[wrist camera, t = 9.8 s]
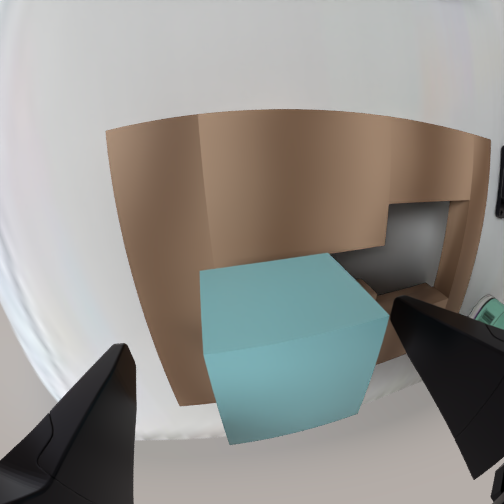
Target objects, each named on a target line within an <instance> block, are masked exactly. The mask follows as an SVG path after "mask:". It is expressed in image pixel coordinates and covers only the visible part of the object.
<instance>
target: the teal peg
mask: <svg viewBox="0 0 504 504" xmlns="http://www.w3.org/2000/svg"><path fill="white" fill-rule="evenodd" d="M200 300H201V322H202V340H203V355H204V359H205V363H206V367H207V370H208V374H209V378H210V382H211V385H212V389H213V392H214V396H215V399H216V403H217V406H218V409H219V413H220V416H221V419H222V423H223V426H224V429H225V432H226V435H227V438H228V441H229V444H230V445H233V444H240V443H246V442H252V441H258V440H264V439H269V438H274V437H279V436H283V435H287V434H291V433H296V432H300V431H304V430H307V429H311V428H315V427H318V426H322V425H325V424H328V423H331V422H335V421H338V420H340V419H343V418H347V417H350V416H352V415H355V414H358V411H359V409H360V406H361V404H362V401H363V398H364V396H365V393H366V390H367V388H368V385H369V382H370V379H371V376H372V374H373V371H374V368H375V365H376V361H377V358H378V355H379V352H380V349H381V345H382V342H383V338H384V335H385V331H386V327H387V324H388V320H389V316H390V315H389V314H388V313H387V312H386V311H385V310H384V309H383V308H382V307H381V306H380V305H379V304H378V303H377V302H376V301H375V300H374V299H373V298H372V296H371V295H370V294H369V293H368V292H367V291H366V290H365V289H364V288H363V287H362V286H361V285H360V284H359V283H358V282H357V281H356V280H355V279H354V278H353V277H352V276H351V275H350V274H349V273H348V272H347V271H346V270H345V269H344V268H343V267H342V266H341V265H340V264H339V263H338V262H337V261H336V260H335V259H334V258H333V257H332V256H331V255H330V254H329V253H322V254H315V255H309V256H302V257H295V258H288V259H281V260H274V261H267V262H260V263H253V264H246V265H239V266H232V267H224V268H217V269H210V270H202V271H200Z"/></svg>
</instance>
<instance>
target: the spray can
mask: <svg viewBox="0 0 504 504" xmlns="http://www.w3.org/2000/svg"><path fill="white" fill-rule="evenodd" d="M469 318H472V319H475V320H478V321H481V322H483V323H485V324H489V325H492V326H495V327H498V328H500V329H503V330H504V305H503V304H502V303H500V302H499V301H498V300H497V299H495V298H494V297H493V296H491V295H486V296H485V297H483V298H482V299H481V300H480V301H479V302H478V303H477V305H476V306H475V307H474V309H473V310H472V312H471V313H470V315H469Z"/></svg>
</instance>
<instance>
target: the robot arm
mask: <svg viewBox="0 0 504 504" xmlns="http://www.w3.org/2000/svg"><path fill="white" fill-rule="evenodd" d="M496 216H497V217H499V218H504V146H503V147H502V159H501V175H500V185H499V194H498V202H497V209H496ZM390 321H391V323H392V325H393V327H394V329H395V331H396V333H397V335H398V337H399V339H400V341H401V343H402V345H403V347H404V349H405V351H406V353H407V355H408V357H409V359H410V360H411V362H412V363H413V365H414V367H415V368H416V370H417V372H418V373H419V375H420V377H421V378H422V380H423V382H424V383H425V385H426V387H427V389H428V391H429V392H430V394H431V396H432V398H433V399H434V401H435V403H436V405H437V407H438V408H439V410H440V412H441V414H442V416H443V418H444V419H445V421H446V423H447V425H448V427H449V429H450V431H451V433H452V435H453V437H454V438H455V441H456V443H457V445H458V447H459V449H460V451H461V454H462V456H463V458H464V460H465V462H466V464H467V467H468V469H469V471H470V473H471V476H472V477H473V479H474V480H475V479H476V478H478V477H479V476H480V475H482V474H483V473H484V472H485V471H487V470H488V469H490V468H491V467H492V466H493V465H495V464H496V463H497V462H498V461H499V460H501V459H502V458H503V457H504V330H503V329H500V328H498V327H495V326H492V325H489V324H485V323H483V322H481V321H478V320H475V319H472V318H469V317H467V316H464V315H461V314H458V313H455V312H453V311H450V310H447V309H444V308H441V307H438V306H436V305H433V304H430V303H427V302H424V301H421V300H419V299H416V298H413V297H410V296H407V295H402V296H398V297H396V298H395V299H394V301H393V306H392V310H391V314H390ZM136 410H137V402H136V364H135V361H134V359H133V357H132V354H131V352H130V350H129V348H128V346H127V344H125V343H120V344H113V345H112V346H111V347H110V348H109V349H108V350H107V351H106V352H105V353H104V354H103V356H102V357H101V358H100V359H99V360H98V361H97V362H96V363H95V364H94V365H93V366H92V367H91V368H90V369H89V370H88V371H87V372H86V373H85V374H84V375H83V376H82V377H81V378H80V380H79V381H78V382H77V383H76V384H75V385H74V386H73V387H72V388H71V389H70V390H69V391H68V392H67V393H66V394H65V396H64V397H63V398H62V399H61V400H60V401H59V402H58V403H57V404H56V405H55V406H54V408H53V409H52V410H51V411H50V413H48V414H47V415H46V416H45V417H44V418H43V419H42V421H41V422H40V423H39V424H38V425H37V426H36V427H35V428H34V429H33V430H32V431H31V432H30V433H29V434H28V435H27V436H26V437H25V438H24V439H23V440H22V441H21V442H20V443H19V444H17V445H16V446H15V447H14V448H13V449H12V450H11V451H10V452H9V453H8V454H7V455H6V456H5V457H4V458H2V459H1V460H0V504H134V503H133V465H134V441H135V425H136ZM491 499H492V500H493V504H504V463H503V464H502V465H501V466H500V467H499V469H497V470H496V472H495V477H494V483H493V488H492V493H491Z"/></svg>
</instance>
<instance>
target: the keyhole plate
mask: <svg viewBox="0 0 504 504" xmlns="http://www.w3.org/2000/svg"><path fill="white" fill-rule="evenodd" d="M106 140H107V149H108V157H109V165H110V172H111V179H112V185H113V191H114V197H115V202H116V207H117V213H118V218H119V222H120V227H121V232H122V236H123V241H124V245H125V249H126V253H127V257H128V261H129V265H130V269H131V272H132V276H133V280H134V283H135V287H136V290H137V294H138V297H139V300H140V303H141V307H142V310H143V313H144V316H145V319H146V322H147V325H148V328H149V331H150V334H151V337H152V339H153V342H154V345H155V348H156V350H157V353H158V356H159V358H160V361H161V363H162V366H163V368H164V371H165V373H166V376H167V378H168V381H169V383H170V385H171V388H172V390H173V392H174V395H175V397H176V399H177V401H178V404H179V406H189V405H200V404H209V403H216V399H215V396H214V392H213V389H212V385H211V382H210V378H209V374H208V370H207V367H206V363H205V359H204V355H203V340H202V322H201V300H200V271H202V270H210V269H217V268H224V267H232V266H239V265H246V264H253V263H260V262H267V261H274V260H281V259H288V258H295V257H302V256H309V255H315V254H322V253H329V254H332V253H338V252H345V251H352V250H358V249H365V248H371V247H378V246H384V245H385V238H386V229H387V219H388V207H389V204H395V203H413V202H433V201H450V205H449V213H448V220H447V226H446V232H445V238H444V243H443V248H442V253H441V258H440V263H439V267H438V271H437V275H436V279H435V283H434V287H431V286H429V285H428V284H427V283H423V284H419V285H416V286H412V287H409V288H405V289H401V290H398V291H394V292H390V293H386V294H382V295H378V296H377V293H376V292H375V291H374V290H373V289H372V288H371V287H370V286H369V285H368V284H367V283H366V282H364V281H363V280H362V279H357V280H356V281H357V282H358V283H359V284H360V285H361V286H362V287H363V288H364V289H365V290H366V291H367V292H368V293H369V294H370V295H371V296H372V298H373V299H374V300H375V301H376V302H377V303H378V304H379V305H380V306H381V307H382V308H383V309H384V310H385V311H386V312H387V313H388V314H389V315H390V314H391V310H392V306H393V301H394V299H395V298H396V297H398V296H402V295H407V296H410V297H413V298H416V299H419V300H421V301H424V302H427V303H430V304H433V305H436V306H438V307H441V308H444V309H447V310H450V311H453V312H455V313H458V314H459V311H460V308H461V305H462V302H463V299H464V296H465V293H466V290H467V287H468V284H469V280H470V277H471V274H472V270H473V266H474V262H475V258H476V254H477V250H478V246H479V241H480V236H481V231H482V226H483V221H484V215H485V208H486V201H487V193H488V183H489V172H490V153H491V140H490V139H487V138H484V137H480V136H477V135H474V134H470V133H466V132H463V131H459V130H455V129H451V128H447V127H443V126H438V125H434V124H429V123H424V122H419V121H413V120H408V119H402V118H395V117H389V116H381V115H373V114H365V113H355V112H343V111H328V110H302V109H269V110H243V111H228V112H216V113H206V114H197V115H188V116H181V117H174V118H167V119H161V120H155V121H150V122H144V123H139V124H134V125H129V126H125V127H120V128H116V129H111V130H107V131H106ZM404 354H406V351H405V349H404V347H403V345H402V343H401V341H400V339H399V337H398V335H397V333H396V331H395V329H394V327H393V325H392V323H391V321H390V316H389V320H388V324H387V327H386V331H385V335H384V338H383V342H382V345H381V349H380V352H379V355H378V358H377V361H376V365H377V364H380V363H383V362H385V361H388V360H391V359H393V358H396V357H399V356H401V355H404Z"/></svg>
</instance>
